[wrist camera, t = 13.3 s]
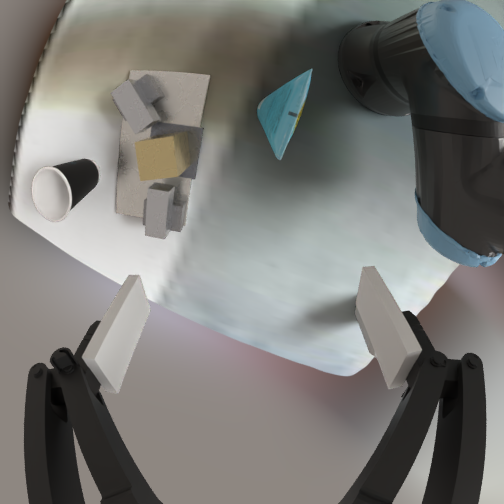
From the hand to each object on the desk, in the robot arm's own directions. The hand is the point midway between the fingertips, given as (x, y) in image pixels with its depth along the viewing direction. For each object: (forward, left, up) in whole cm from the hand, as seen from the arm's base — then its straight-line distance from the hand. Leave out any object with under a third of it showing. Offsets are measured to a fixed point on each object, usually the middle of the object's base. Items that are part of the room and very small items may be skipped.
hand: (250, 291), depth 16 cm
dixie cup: (+3, -27, -27) cm, 38 cm away
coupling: (-2, -12, -26) cm, 29 cm away
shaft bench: (-2, -15, -27) cm, 31 cm away
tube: (-10, +1, -27) cm, 29 cm away
